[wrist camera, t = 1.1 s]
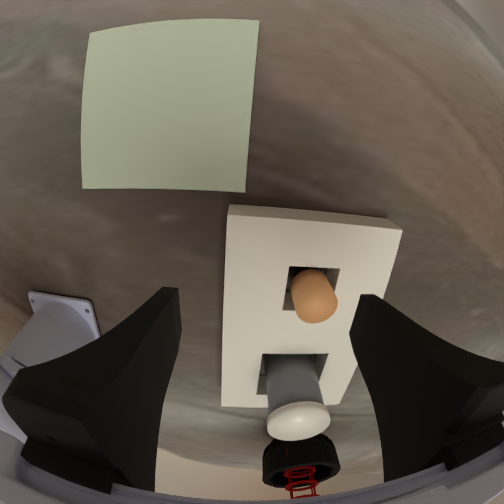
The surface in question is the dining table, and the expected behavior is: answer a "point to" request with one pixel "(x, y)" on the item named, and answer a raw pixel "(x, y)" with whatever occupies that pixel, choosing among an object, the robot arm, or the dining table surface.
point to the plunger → (313, 296)
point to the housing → (281, 303)
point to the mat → (169, 105)
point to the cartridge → (294, 397)
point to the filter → (300, 463)
